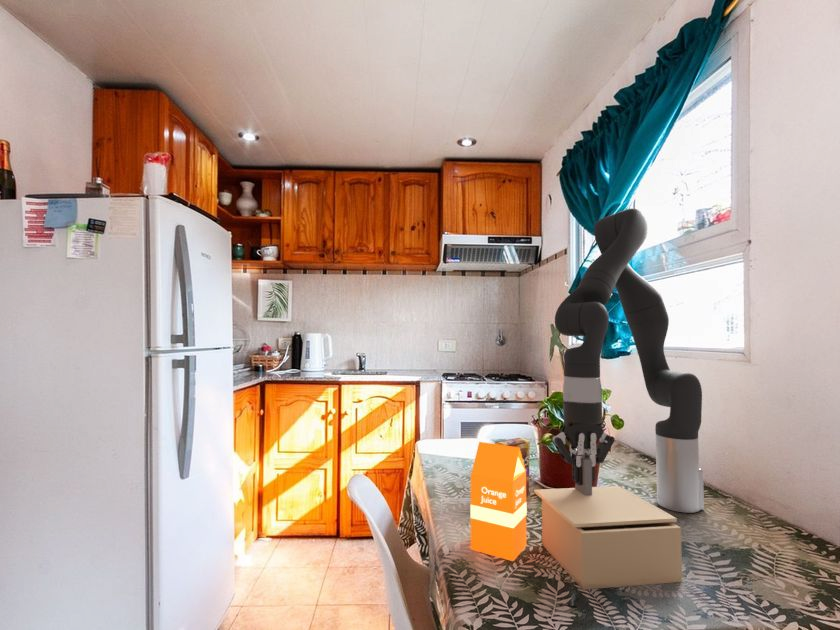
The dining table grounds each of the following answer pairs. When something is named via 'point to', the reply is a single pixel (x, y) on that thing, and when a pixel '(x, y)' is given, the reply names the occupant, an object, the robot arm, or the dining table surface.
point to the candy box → (525, 452)
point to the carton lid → (601, 504)
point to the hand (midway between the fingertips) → (583, 483)
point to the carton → (614, 551)
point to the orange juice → (498, 501)
